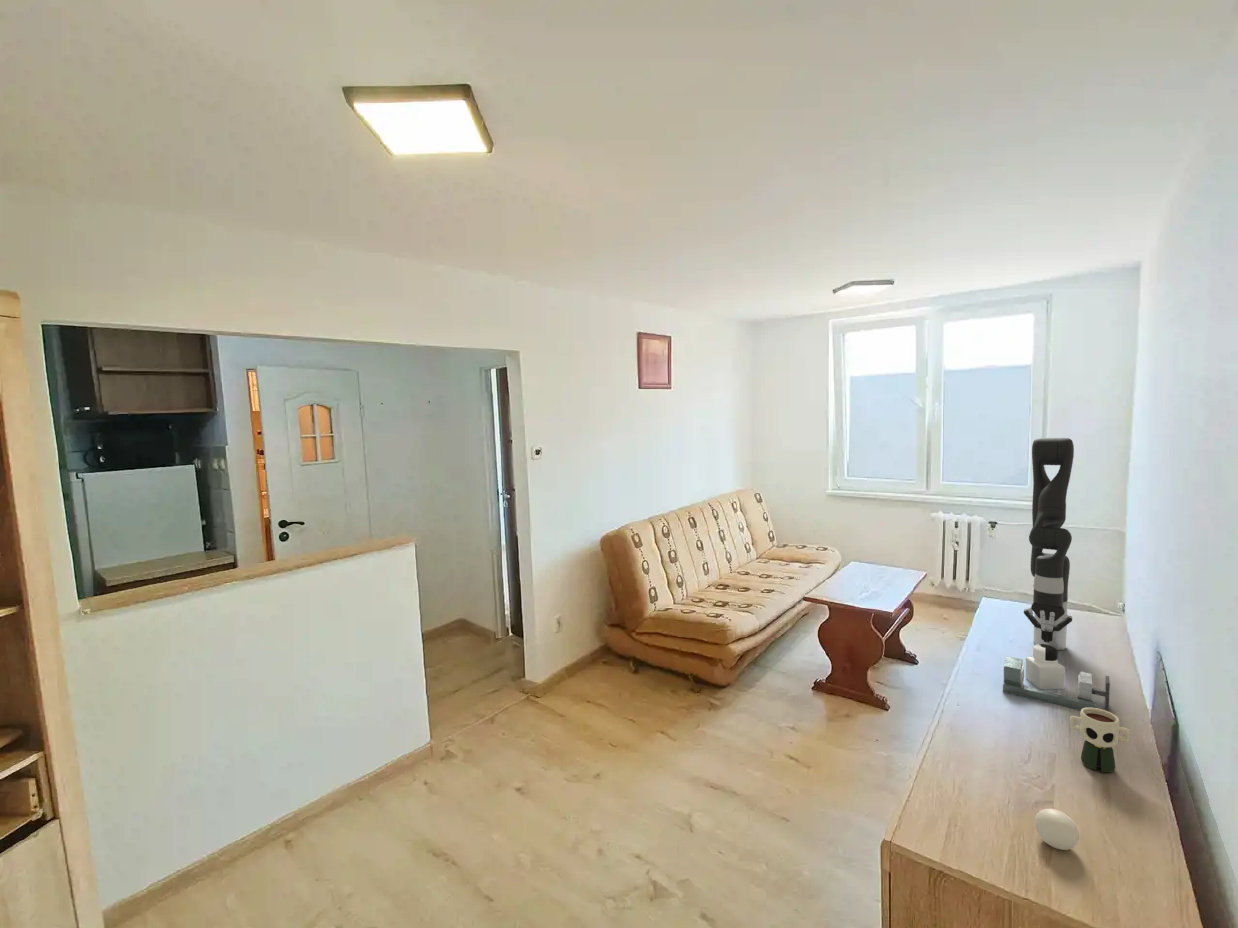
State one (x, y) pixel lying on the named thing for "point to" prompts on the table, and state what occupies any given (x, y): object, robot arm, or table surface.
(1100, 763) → the character mug
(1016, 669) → the vise bed
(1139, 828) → the table surface
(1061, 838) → the white egg
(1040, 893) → the table surface
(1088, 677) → the sliding jaw
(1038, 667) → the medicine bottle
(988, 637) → the table surface
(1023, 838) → the table surface
